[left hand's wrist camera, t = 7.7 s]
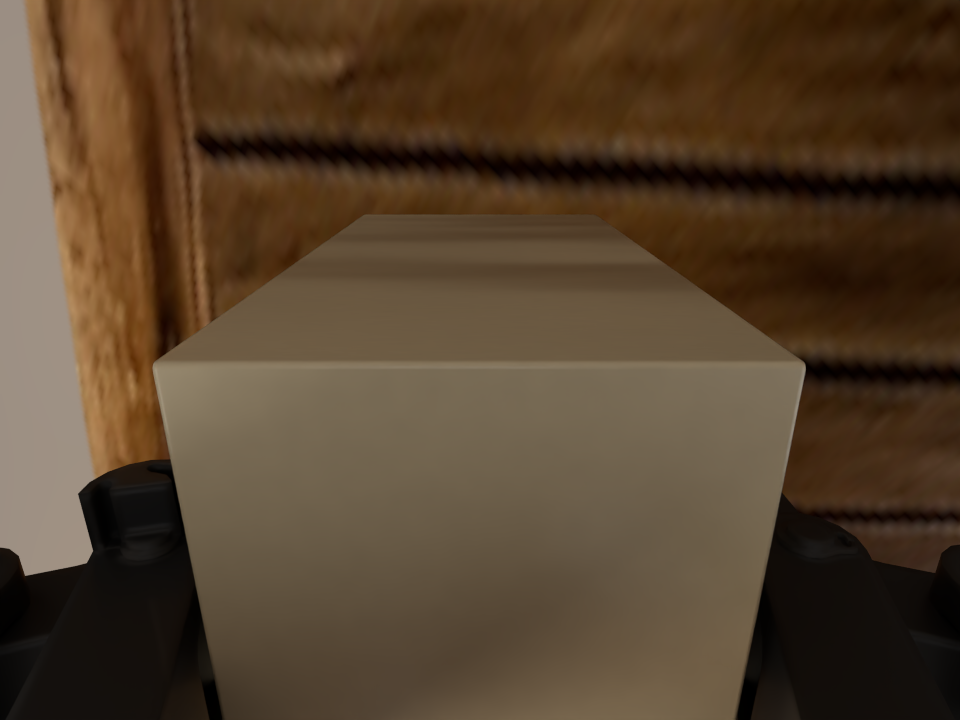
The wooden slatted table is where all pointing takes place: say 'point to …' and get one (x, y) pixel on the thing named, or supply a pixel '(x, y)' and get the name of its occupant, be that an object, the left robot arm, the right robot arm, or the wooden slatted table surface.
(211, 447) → the ash bar
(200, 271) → the wooden slatted table surface
